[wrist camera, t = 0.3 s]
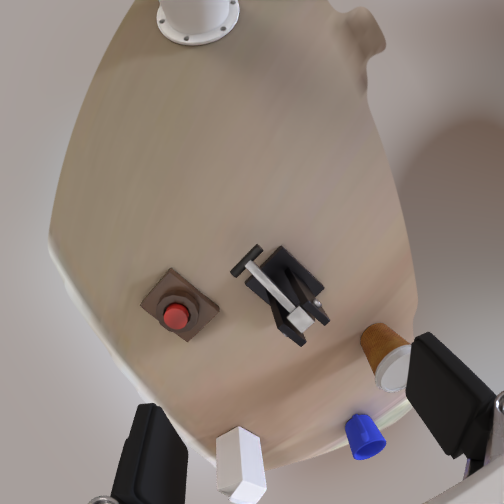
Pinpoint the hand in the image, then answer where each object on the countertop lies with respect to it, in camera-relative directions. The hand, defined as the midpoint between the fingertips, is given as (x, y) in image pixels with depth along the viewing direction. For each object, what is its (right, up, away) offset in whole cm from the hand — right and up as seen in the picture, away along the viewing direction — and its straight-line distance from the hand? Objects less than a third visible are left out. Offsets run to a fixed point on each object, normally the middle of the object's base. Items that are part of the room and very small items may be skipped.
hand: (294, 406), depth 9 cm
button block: (-13, -3, +37) cm, 39 cm away
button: (-13, -4, +34) cm, 36 cm away
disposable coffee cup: (+22, -11, +43) cm, 49 cm away
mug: (+23, -35, +50) cm, 65 cm away
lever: (+2, 0, +29) cm, 29 cm away
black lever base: (+4, 0, +37) cm, 37 cm away
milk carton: (-5, -37, +48) cm, 61 cm away
